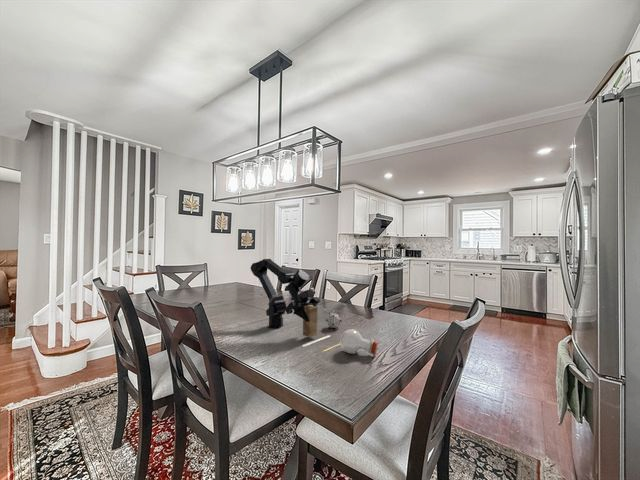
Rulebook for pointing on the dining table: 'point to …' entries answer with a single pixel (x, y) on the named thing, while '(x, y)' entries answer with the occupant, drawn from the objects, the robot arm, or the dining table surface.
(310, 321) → the walnut block
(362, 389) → the dining table surface
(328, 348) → the strip
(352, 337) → the potion bottle
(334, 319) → the game die
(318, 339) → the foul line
